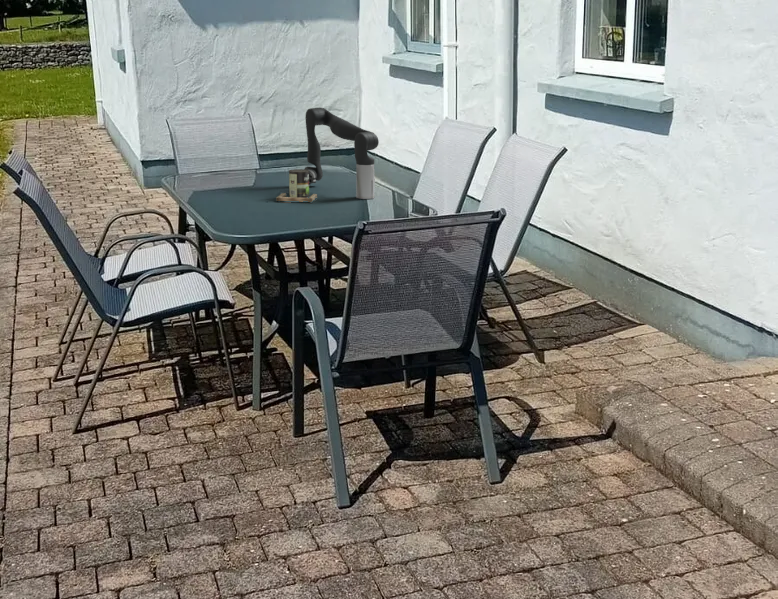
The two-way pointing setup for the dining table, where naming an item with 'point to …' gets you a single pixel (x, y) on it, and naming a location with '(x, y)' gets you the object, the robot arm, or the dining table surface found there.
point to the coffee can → (299, 183)
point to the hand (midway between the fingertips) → (300, 182)
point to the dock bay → (283, 198)
